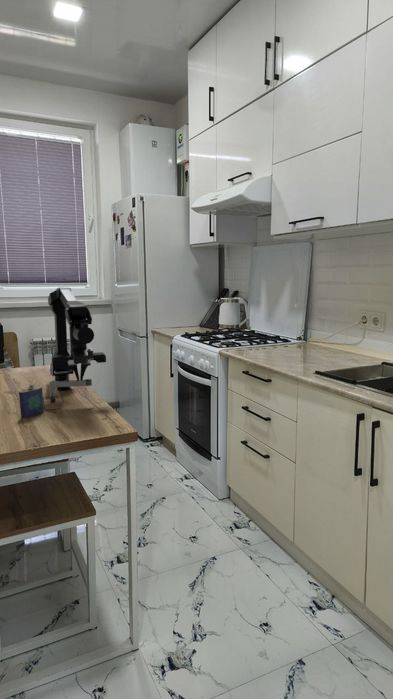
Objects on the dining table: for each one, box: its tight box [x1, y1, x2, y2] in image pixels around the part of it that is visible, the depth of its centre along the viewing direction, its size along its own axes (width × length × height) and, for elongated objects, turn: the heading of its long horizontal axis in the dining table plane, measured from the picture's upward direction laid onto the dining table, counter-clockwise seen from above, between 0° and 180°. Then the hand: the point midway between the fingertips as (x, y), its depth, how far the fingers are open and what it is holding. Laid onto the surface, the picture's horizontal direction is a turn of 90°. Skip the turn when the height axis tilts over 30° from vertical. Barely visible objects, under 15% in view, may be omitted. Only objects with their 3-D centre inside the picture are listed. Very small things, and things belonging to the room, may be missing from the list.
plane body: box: [42, 390, 63, 411], centre depth 169 cm, size 19×6×5 cm, turn 20°
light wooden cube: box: [44, 379, 58, 398], centre depth 171 cm, size 6×4×5 cm, turn 20°
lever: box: [49, 378, 93, 402], centre depth 163 cm, size 15×2×7 cm, turn 103°
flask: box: [18, 383, 45, 420], centre depth 153 cm, size 9×3×11 cm, turn 152°
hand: (79, 381), depth 165 cm, fingers closed
